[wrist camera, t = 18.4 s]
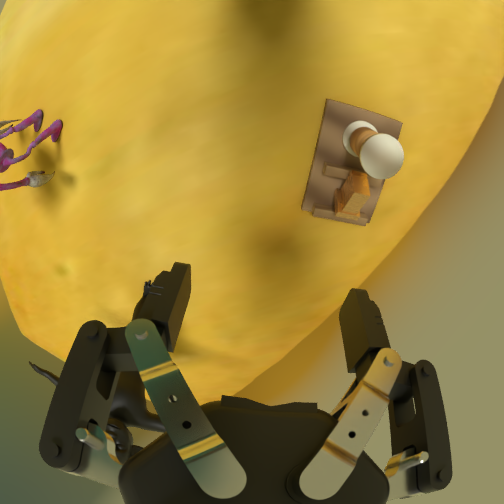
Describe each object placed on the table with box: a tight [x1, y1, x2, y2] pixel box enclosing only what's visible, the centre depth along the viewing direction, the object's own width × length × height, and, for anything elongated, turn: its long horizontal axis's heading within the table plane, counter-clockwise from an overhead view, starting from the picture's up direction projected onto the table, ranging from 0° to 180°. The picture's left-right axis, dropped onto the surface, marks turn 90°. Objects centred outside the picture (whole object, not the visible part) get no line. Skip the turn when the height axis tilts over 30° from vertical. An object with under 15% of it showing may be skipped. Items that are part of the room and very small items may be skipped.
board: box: [301, 99, 404, 226], centre depth 34 cm, size 18×12×10 cm, turn 172°
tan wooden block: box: [334, 170, 370, 221], centre depth 36 cm, size 4×4×6 cm
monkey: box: [29, 280, 166, 465], centre depth 46 cm, size 40×20×40 cm, turn 67°
